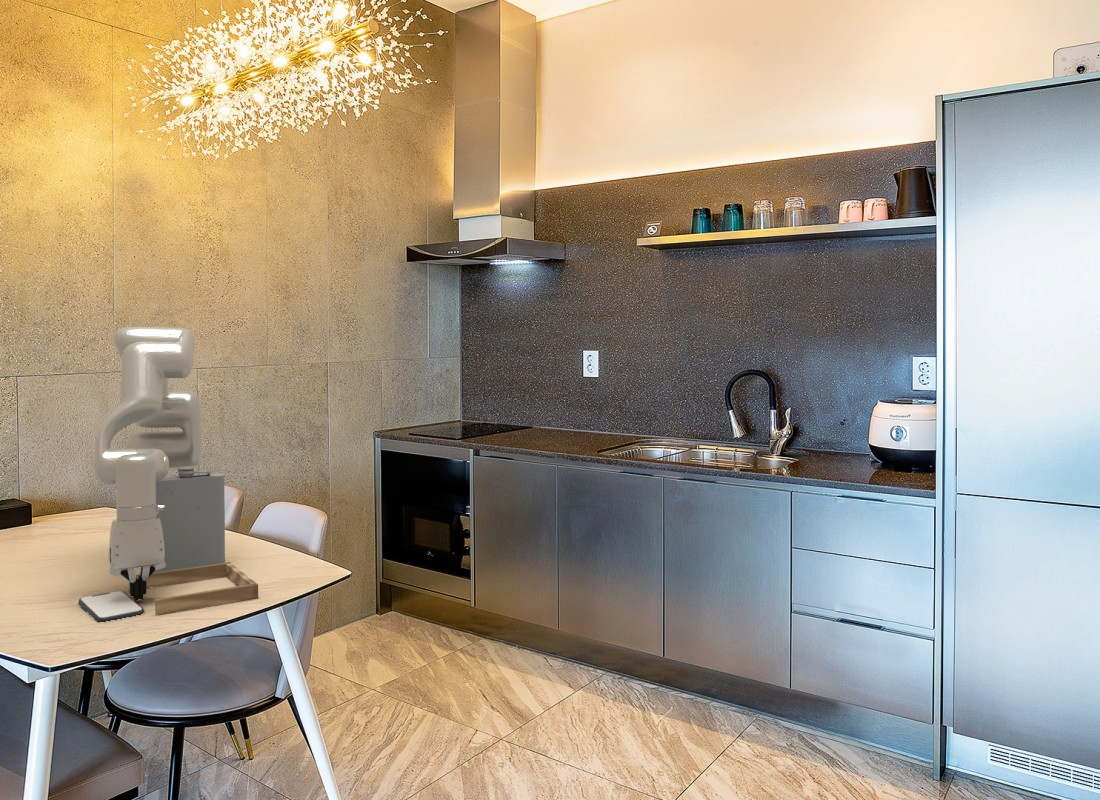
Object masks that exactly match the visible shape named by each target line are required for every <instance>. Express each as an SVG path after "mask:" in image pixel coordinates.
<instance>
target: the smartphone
mask: <svg viewBox="0 0 1100 800" xmlns="http://www.w3.org/2000/svg"><path fill="white" fill-rule="evenodd" d="M79 605H80V606H81V607H80V606H79ZM78 606H79V607H80V608H82V609H83V610H84V612H85V613H87V612H88V613H89V614H90V615H91V616H92V617H93V618H94V619H93V620H94V621H96V622H97V623H99V622H104V623H107V622H106V621H110V622H112V621H111V620H115V621H118V620H117V619H120V620H123V619H122V618H125V619H127V618H126V617H130V618H133V617H132V616H135V617H137V616H136V615H140V616H142V615H141V614H143V613H144V614H145V609H144V607H142V606H141V605H140V604H139V603H138V602H137V601H135V600H134V599H133V598H132V597H131V596H130V595H128V594H126V593H125V592H124V591H121V590H115V591H111V592H104V593H99V594H94V595H88V596H83V597H80V598H79V599H78ZM88 613H87V614H88ZM89 614H88V615H89ZM144 614H143V615H144ZM90 615H89V616H90ZM91 616H90V617H91ZM92 617H91V618H92Z"/></svg>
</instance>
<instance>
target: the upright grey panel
mask: <svg viewBox="0 0 1100 800" xmlns="http://www.w3.org/2000/svg"><path fill="white" fill-rule="evenodd" d="M176 469H177V476H172V477H171V476H169V477H168V476H167V478H163V479H162V480H161V481H159V482H156V503H157V504H158V505H164V511H160V512H158V514H157V516H159V517H160V520H161V524H162V530H163V538H164V548H165V559H164V561H165V564H166V566H165V568H162V569H159V570H156V571H154V572H153V573H155V572H163V571H170V570H177V569H184V568H191V567H199V566H206V565H213V564H220V563H226V536H225V535H226V532H225V531H226V529H225V528H226V527H225V526H226V522H225V519H226V517H225V516H226V515H225V513H226V512H225V509H226V508H225V506H226V505H225V474H224V473H211V470H209V469H202V470H195V467H191V466H184V467H178V468H176Z"/></svg>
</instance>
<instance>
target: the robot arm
mask: <svg viewBox="0 0 1100 800" xmlns="http://www.w3.org/2000/svg"><path fill="white" fill-rule="evenodd" d="M113 338H114V344H115V348H116V351H117V352H118V354H119V356H120V358H121V378H120V381H121V383H120V402H119V406H118V407H117V408H115V410H113V411H112V412H111V413H110V414H109V415H108V416H107V417H106V418H105V420H104V421H103V422H102V424H101V426H100V427H99V430H98V431H97V434H96V437H95V438H96V439H95V444H94V447H95V448H94V460H93V461H94V464H93V466H94V467H93V468H94V475H95V478H96V480H97V481H98V482H99V483H101V484H105V485H115V496H116V497H115V498H116V499H115V500H116V519H113V520H112V521H111V526H110V531H109V542H108V543H109V546H108V548H109V549H108V561H109V564H110V565H109V570H108V573H109V575H111V576H122V577H123V578H125V580H127V581H129V597H130V598H132V600H134V601H135V602H138V601H143V600H144V599H145V596H144V595H147V589H148V588H146V581H147V580H148V578H149V577H150V575H151V574H152V573H153V572H154V571H156V570H159V569H162V568H165V566H166V564H165V561H164V559H165V548H164V538H163V530H162V524H161V520H160V517H159V516H157V514H158V512H160V511H164V505H158V504H157V503H156V482H159V481H161V480H162V479H163V478H168V476H166V475H167V474H168V472H169V469H177V468H178V467H184V466H191V467H194V468H195V467H196V466H198V465H199V464H200V462H201V461H202V456H203V443H202V442H203V441H202V439H203V437H202V431H203V430H202V407H201V401H200V399H199V396H198V394H197V393H196V392H195V391H194V392H193V391H191V390H185V389H181V390H176V389H175V390H173V389H172V390H171V389H169V379H186V378H188V377H189V376H190V375H191V373H192V371H193V365H194V357H195V355H194V354H195V338H194V335H193V333H192V331H191V330H190V329H188V328H185V327H166V326H165V327H161V326H128V327H127V326H126V327H122V328H119V329H117V330H116V331H115V334H114V337H113ZM132 424H135V425H136V426H137V427H140V428H149V429H150V428H151V429H154V428H155V429H163V428H164V429H165V428H167V429H168V428H170V429H171V428H175V429H176V428H177V429H178V428H179V429H180V431H179V430H178V431H177V430H175V431H173V430H172V431H171V430H170V431H165V430H164V431H163V430H162V431H141V432H138V433H134V434H133V435H132V436H130V437H129V439H127V442H126V447H125V448H113V449H111V444H112V441H113V439H114V437H115V436H116V434H118V432H120V431H121V430H123V429H125V428H127V427H128V426H130V425H132ZM135 568H140V569H139V571H140V572H139V575H140V576H139V578H138V579H137V578H136V572H135Z"/></svg>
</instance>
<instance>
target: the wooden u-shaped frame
mask: <svg viewBox="0 0 1100 800" xmlns="http://www.w3.org/2000/svg"><path fill="white" fill-rule="evenodd" d="M135 576H136V578H137V579H138V578H139V576H140V574H135ZM219 577H220V578H225V577H226V578H227V577H228V579H229V580H230V581H231V582H232V583H233V584H234V583H235V584H234V585H235V586H230V587H223V588H217V589H211V590H204V591H199V592H192V593H184V594H179V595H173V596H166V597H160V598H155V599H154V601H155V604H154V605H155V606H154V607H155V608H154V609H155V610H154V611H155V613H156V614H161V615H165V614H164V613H167V614H171V613H170V612H173V613H177V612H176V611H179V612H183V611H184V610H185V611H190V610H195V609H196V608H197V609H202V608H201V607H203V608H208V607H207V606H209V607H213V606H219V605H225V604H231V603H237V602H243V601H244V602H245V601H249V600H255V599H259V584H258V583H257V582H256V581H255V580H253V579H252V578H251V577H249V576H248V575H247V574H246V573H244V572H243V571H242V570H241V569H239V568H238V567H237V566H236V565H234V564H233V563H232V562H230V561H228V562H225V563H220V564H213V565H206V566H199V567H191V568H184V569H177V570H170V571H163V572H155V573H152V574H151V575H150V577H149V578H148V580H147V581H146V589H151V588H150V587H153V588H157V587H156V586H159V587H164V585H166V586H171V585H172V584H173V585H178V584H184V583H185V584H186V583H191V582H192V583H193V582H198V581H206V579H207V580H212V578H213V579H218V578H219ZM156 614H155V615H156Z"/></svg>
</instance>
